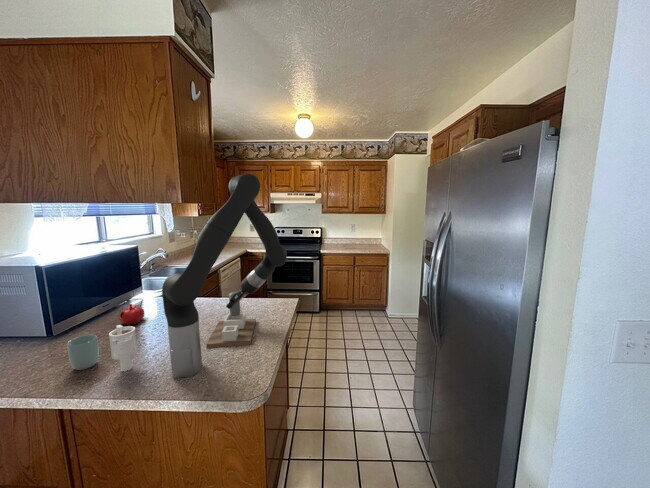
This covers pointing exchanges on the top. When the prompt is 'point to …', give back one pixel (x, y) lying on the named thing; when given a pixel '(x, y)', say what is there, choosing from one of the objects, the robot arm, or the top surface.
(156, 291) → the top surface
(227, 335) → the socket fittings
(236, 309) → the capsule
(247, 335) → the board
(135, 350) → the white tall rounded piece
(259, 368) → the top surface
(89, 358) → the cup
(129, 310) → the pomegranate
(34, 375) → the top surface
